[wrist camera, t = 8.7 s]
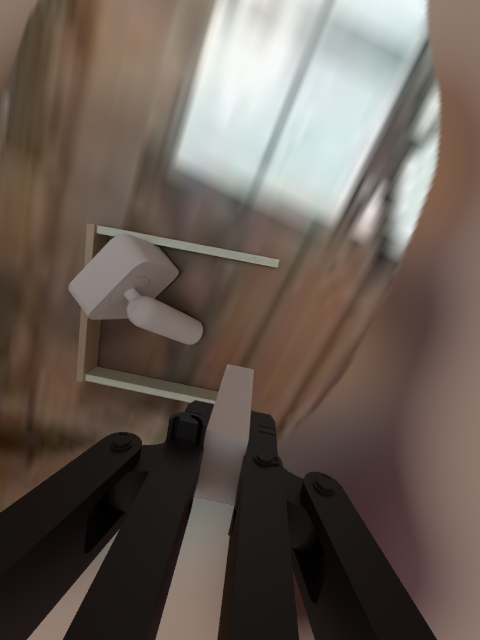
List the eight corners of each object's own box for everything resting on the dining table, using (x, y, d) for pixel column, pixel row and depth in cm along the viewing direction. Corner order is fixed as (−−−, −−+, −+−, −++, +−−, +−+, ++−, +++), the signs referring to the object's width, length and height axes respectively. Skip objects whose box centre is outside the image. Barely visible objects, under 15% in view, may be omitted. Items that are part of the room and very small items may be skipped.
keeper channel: (90, 371, 38) (75, 380, 35) (102, 226, 34) (87, 223, 31) (248, 404, 37) (246, 416, 34) (278, 259, 33) (279, 259, 30)
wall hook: (177, 362, 36) (126, 380, 27) (126, 297, 38) (61, 291, 28) (226, 318, 35) (192, 320, 25) (171, 251, 36) (119, 229, 26)
